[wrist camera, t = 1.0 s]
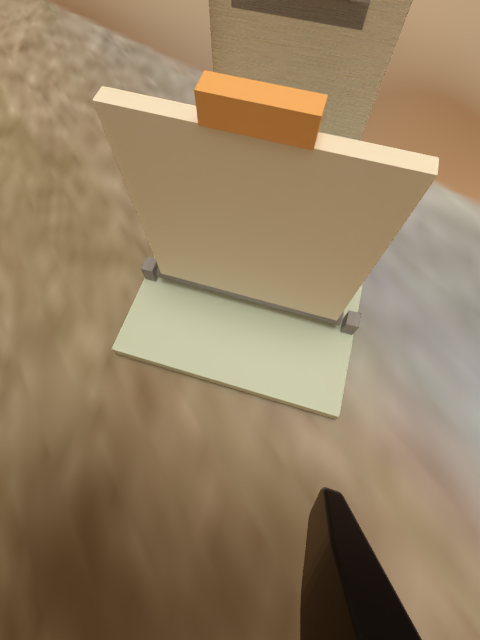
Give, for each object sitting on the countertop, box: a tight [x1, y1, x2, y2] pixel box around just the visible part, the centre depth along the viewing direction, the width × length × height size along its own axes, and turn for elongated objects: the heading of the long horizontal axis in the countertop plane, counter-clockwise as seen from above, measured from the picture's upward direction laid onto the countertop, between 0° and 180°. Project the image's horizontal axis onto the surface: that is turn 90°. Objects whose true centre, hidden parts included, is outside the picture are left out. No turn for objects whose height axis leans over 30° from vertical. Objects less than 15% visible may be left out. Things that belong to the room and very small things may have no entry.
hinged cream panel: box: [93, 70, 439, 326], centre depth 17 cm, size 1×13×14 cm, turn 73°
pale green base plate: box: [112, 257, 363, 419], centre depth 25 cm, size 17×15×2 cm
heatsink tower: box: [209, 0, 413, 141], centre depth 20 cm, size 5×8×15 cm, turn 73°
